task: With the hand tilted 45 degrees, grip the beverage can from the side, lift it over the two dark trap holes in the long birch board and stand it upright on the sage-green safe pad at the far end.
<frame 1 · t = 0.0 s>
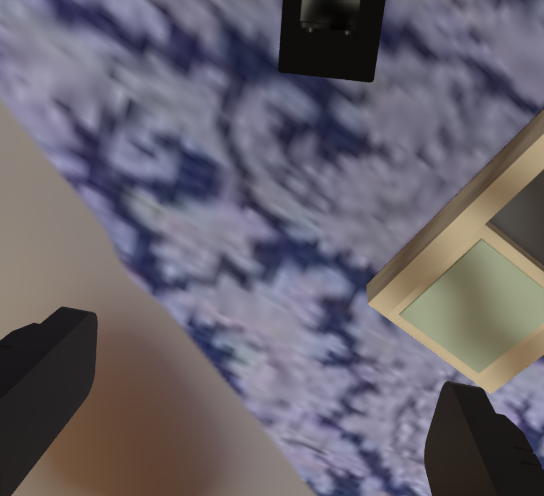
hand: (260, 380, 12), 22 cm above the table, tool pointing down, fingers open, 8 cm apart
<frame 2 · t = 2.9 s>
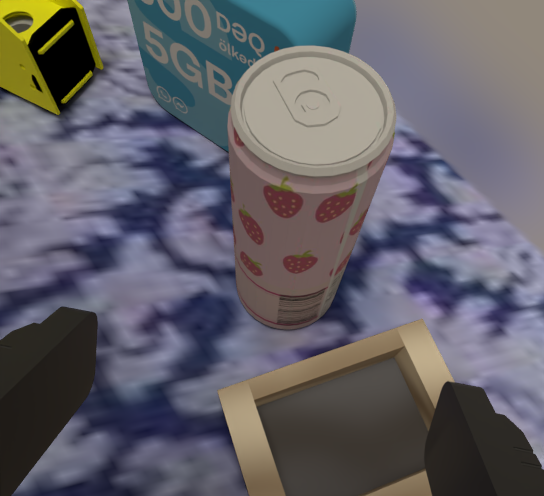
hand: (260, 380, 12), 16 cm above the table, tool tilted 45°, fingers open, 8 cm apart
beverage can: (285, 285, 30), on the table
data package: (238, 127, 35), on the table
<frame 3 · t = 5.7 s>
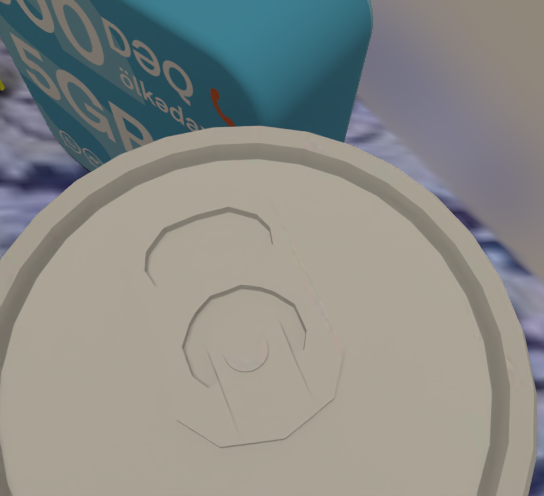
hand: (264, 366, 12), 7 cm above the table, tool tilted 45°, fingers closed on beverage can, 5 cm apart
beverage can: (250, 466, 18), on the table, touching gripper
data package: (188, 188, 23), on the table
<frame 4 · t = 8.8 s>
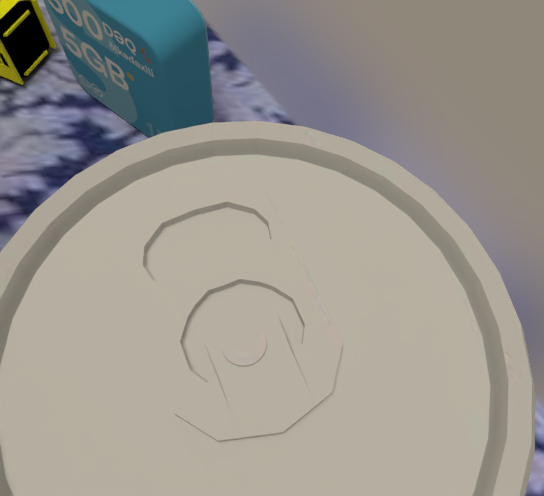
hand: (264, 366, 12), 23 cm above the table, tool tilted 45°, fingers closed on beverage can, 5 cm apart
beverage can: (250, 464, 18), point 15 cm above the table, touching gripper
data package: (146, 108, 44), on the table
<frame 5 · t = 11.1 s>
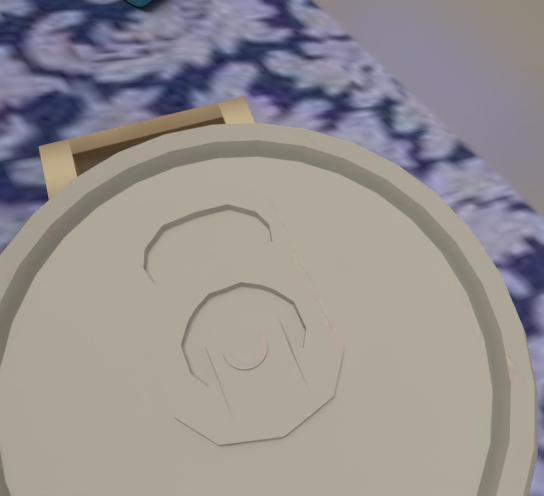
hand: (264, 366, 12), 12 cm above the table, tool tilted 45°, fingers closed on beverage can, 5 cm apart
beverage can: (250, 465, 18), point 4 cm above the table, touching gripper
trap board: (207, 324, 25), on the table
when the fingers open (11 cm above the table, at t = 12.2 s): beverage can stays where it is, resting on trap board.
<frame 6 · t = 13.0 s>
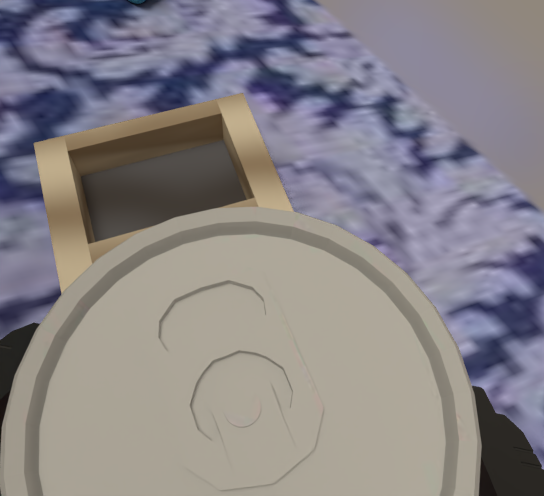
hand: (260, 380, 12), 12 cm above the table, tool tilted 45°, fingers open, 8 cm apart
beverage can: (246, 471, 19), point 3 cm above the table, touching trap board
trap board: (205, 324, 24), on the table
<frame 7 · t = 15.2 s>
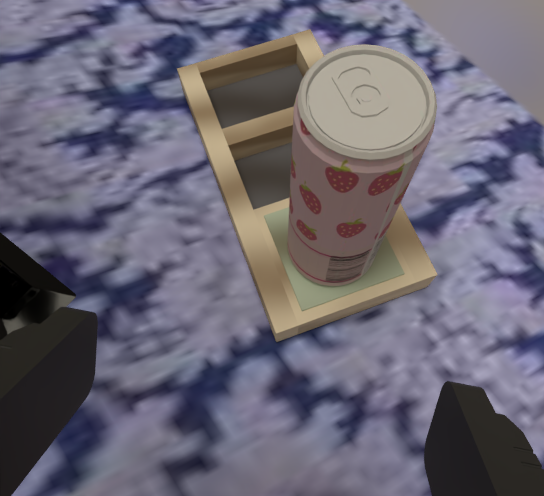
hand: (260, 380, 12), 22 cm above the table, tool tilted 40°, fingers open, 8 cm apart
beverage can: (330, 247, 34), point 3 cm above the table, touching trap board
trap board: (294, 179, 38), on the table
black open box: (4, 289, 36), on the table
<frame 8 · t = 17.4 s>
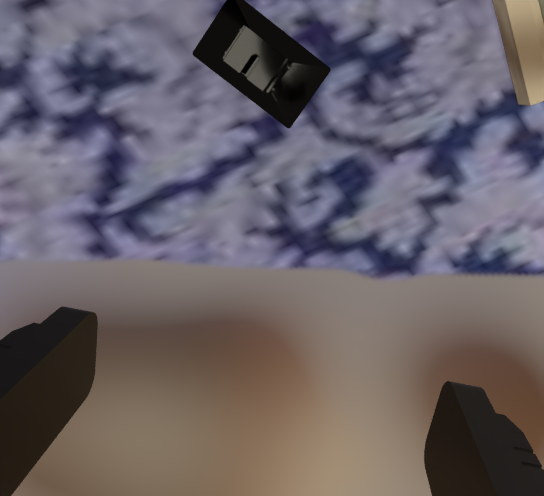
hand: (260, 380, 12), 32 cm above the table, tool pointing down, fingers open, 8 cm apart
black open box: (262, 62, 41), on the table
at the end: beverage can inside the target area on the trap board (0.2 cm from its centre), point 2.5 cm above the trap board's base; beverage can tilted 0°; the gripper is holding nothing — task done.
